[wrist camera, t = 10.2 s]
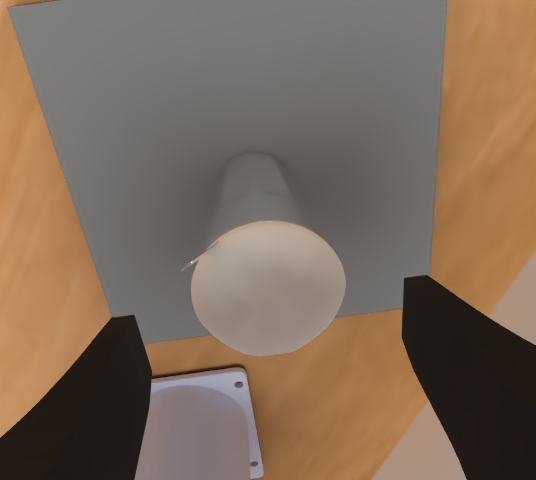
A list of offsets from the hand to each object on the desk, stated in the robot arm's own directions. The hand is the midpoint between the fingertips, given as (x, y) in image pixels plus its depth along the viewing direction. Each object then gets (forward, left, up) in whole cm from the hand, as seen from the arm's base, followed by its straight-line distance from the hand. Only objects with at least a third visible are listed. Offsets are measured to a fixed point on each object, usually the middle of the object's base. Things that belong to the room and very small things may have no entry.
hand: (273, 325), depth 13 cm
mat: (0, 0, -10) cm, 10 cm away
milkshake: (0, 0, -10) cm, 10 cm away
